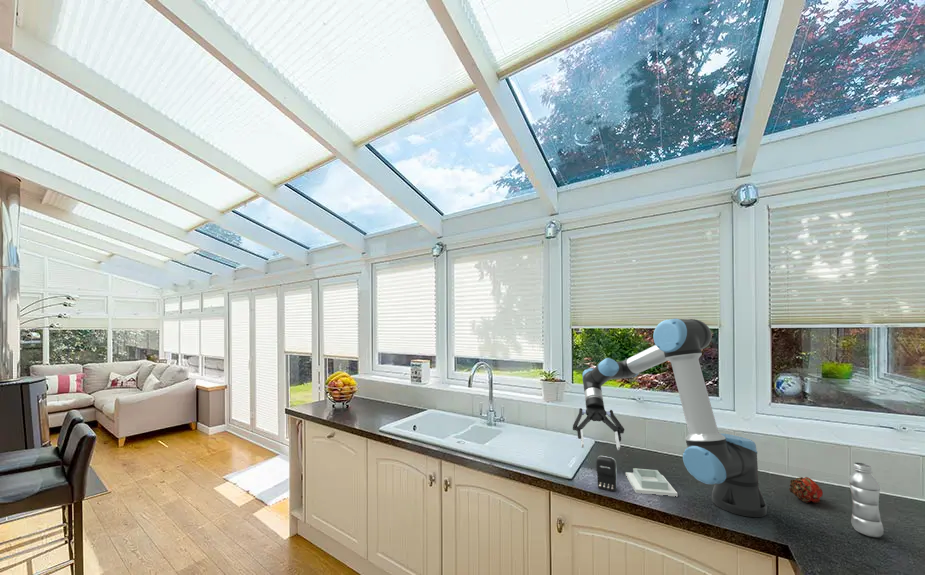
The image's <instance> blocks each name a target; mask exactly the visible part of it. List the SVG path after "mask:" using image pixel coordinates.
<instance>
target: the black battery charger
mask: <svg viewBox="0 0 925 575" xmlns="http://www.w3.org/2000/svg"><path fill="white" fill-rule="evenodd" d="M595 461H596V463H595V464H596V465H595V467H596V468H595V470H596V473H597V474H596V476H597V488H599V489H601V490H604V491H609V492H615V491H617V485H618V484H617V478H618V476H617V472H618V471H617V460H616V459H615V458H614V457H610V456H605V455H599V456H597V458H596V460H595Z"/></svg>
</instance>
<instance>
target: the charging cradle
mask: <svg viewBox="0 0 925 575" xmlns="http://www.w3.org/2000/svg"><path fill="white" fill-rule="evenodd" d="M632 471H633V472H627V471H626V472H625V477H626V476H627V477H626V478H627V480H628V482H629V484H630V485H631V487H632V489H633V491H634V492H635V493H636V494H641V493H642V495H652V494H656V496H663V495H668V496H667V497H675V496H676V498H677V497H678V496H679V494H678V492H677V491H676V490H675V488H674V487H673V485H671V483H670V482H669V481H668V480H667V478H666V477H665V476H664V475H663V474H661V473H660V472H659V470H658V469H648V468H636V467H635V468H632Z"/></svg>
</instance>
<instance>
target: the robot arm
mask: <svg viewBox="0 0 925 575" xmlns="http://www.w3.org/2000/svg"><path fill="white" fill-rule="evenodd" d="M653 330H654V331H653V338H652V339H653V343H654V345H652V346H651V347H648V348H646V349H644V350H642V351H640V352H637V353H635V354H634V355H633V356H630V357H628V358H626V359H624V360H621V361H616V360H615V359H613V358H611V357H606V358H603V360H601V361H600V362H599V363H598V364H597V365H596V366H595V367H590V368H587V369H584V371H582V385H583V392H584V400H585V409H582V408H579V411H578V414H577V416H576V419H575V420H574V422H573V424H572V430H573V431H576V433H577V438H578V440H579V439H580V446H581V448H585V442H584V441H585V440H584V428H585V427H586V426H587V425H588V424H589V422H591V421H593V422H602V423H604V424H605V425H606V426H608V428H610V429H611V430H612V432H614V438H615V439H614V440H615V444H616V450H617V451H620V448H621V444H620V442H622V436H621V435H622V434H624V432H625V428H624V426H623V425H622V423H621V422H620V421H619V420H618V418H617V417H616V415H615V413H614V411H613V410H612V409H610V410H608V411H606V410H605V402H604V397H603V390H602V386H603V385H604V384H606V383H607V382H608V381H609V380H610V381H611V380H617V379H618V380H619V379H620V380H621V379H632V378H637V376H638V375H639V374H640V373H642V372H645V371H646V370H649V369H651V368H653V367H655V366H659V365H660V364H663V363H665V362H667V361H669V363H671V364H670V365H671V368H672V371H673V376H674V379H675V383H676V387H677V392H678V395H679V398H680V403H681V407H682V411H683V414H684V418H685V423H686V426H687V430H688V434H687V435H686V437H685V442H686V448H685V449H684V452H683V454H682V461H683V465H684V467H685V468H686V470H687V472H688V473H689V474H690V475H691V476H692V477H694V479H695V480H697V481H699V482H700V483H703V484H706V485H713V488H712V491H711V501H712V503H713V504H714V505H716V506H717V507H719V508H720V509H722V510H724V511H727V512H728V513H732V514H734V515H739V516H743V517H747V518H748V517H749V518H762V517H765V516H766V515H767V514H768V506H767V503H766V500H765V498H764V497H763V494H762V491H761V489H760V487H759V486H760V482H759V468H758V466H759V465H758V451H757V445H756V443H755V441H753V440H751V439H750V438H746V437H743V436H739V435H733V434H730V433H728V434H727V433H724V432H723V433H720V431H719V430H718V426H717V422H716V419H715V415H714V411H713V408H712V405H711V402H710V401H711V400H710V397H709V394H708V389H707V385H706V382H705V379H704V375H703V371H702V368H701V364H700V363H701V362H700V361H699V360H700V357H701V356H702V354H703V353H702V350H705V348H707V347H708V346H709V345H710V343H711V341H712V337H713V336H712V335H713V334H712V331H711V328H710V327H709V325H707V324H706V323H705V322H704V321H701V320H700V319H699V320H698V319H695V318H694V319H693V318H689V319H688V318H671V319H669V318H668V319H665V320H662V321H661V322H659V323H658V324H657V325H656V327H655V328H654V329H653ZM585 415H586V417H585V418H584V419H583V421H582V422H581V420H582V417H583V416H585ZM609 418H610V419H609ZM580 422H581V423H580Z"/></svg>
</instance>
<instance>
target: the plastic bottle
mask: <svg viewBox="0 0 925 575" xmlns="http://www.w3.org/2000/svg"><path fill="white" fill-rule="evenodd" d="M852 468H853V470H854V472H852V473H851V474H850V475H849V477H848V483H849V485H848V486H849V488H850V492H851V498H852V513H851V518H850V523H851V526H852V527H853V528H854V530H855V531H856V532H858V533H860V534H861V535H865V536H867V537H870V538H881V537H882V536H883V535H884V525H883V523H882V520H881V513H880V510H879V509H880V508H879V507H880V505H879V498H880V493H881V491H880V490H881V486H880V484H879V482H878V481H877V479H876V478H875V477H874V476H873V470H872V465H870V464H867V463H862V462H856V461H855V462H854V461H853V467H852Z"/></svg>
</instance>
